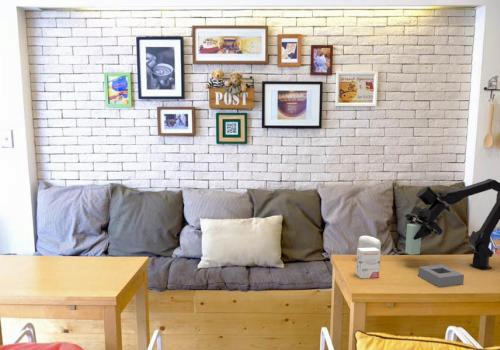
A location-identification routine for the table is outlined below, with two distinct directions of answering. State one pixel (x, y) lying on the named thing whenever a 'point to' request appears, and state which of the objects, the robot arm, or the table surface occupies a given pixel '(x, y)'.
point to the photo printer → (369, 242)
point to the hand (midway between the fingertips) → (411, 237)
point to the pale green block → (412, 244)
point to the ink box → (368, 262)
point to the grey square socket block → (441, 275)
